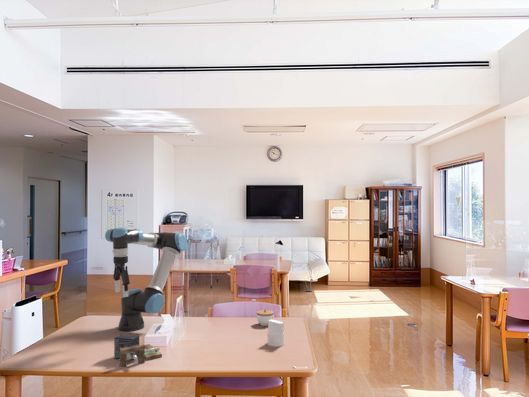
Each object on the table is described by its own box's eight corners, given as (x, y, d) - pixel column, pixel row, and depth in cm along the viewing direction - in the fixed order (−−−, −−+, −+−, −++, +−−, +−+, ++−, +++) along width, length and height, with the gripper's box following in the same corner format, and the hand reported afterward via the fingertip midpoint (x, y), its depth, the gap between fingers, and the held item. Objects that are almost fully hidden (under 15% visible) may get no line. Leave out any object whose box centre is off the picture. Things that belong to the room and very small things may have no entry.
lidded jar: (273, 327, 258) (273, 311, 258) (256, 326, 258) (256, 311, 258) (273, 322, 269) (273, 307, 269) (256, 322, 269) (256, 307, 269)
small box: (140, 356, 208) (140, 335, 209) (133, 361, 202) (133, 339, 202) (121, 354, 211) (121, 333, 211) (113, 359, 205) (113, 337, 205)
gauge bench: (149, 346, 222) (149, 331, 222) (163, 358, 205) (163, 342, 205) (109, 354, 210) (109, 338, 210) (121, 367, 194) (121, 350, 194)
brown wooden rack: (158, 352, 210) (158, 340, 210) (166, 358, 201) (166, 346, 201) (119, 360, 199) (119, 347, 199) (126, 367, 190) (126, 354, 190)
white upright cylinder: (287, 343, 227) (287, 321, 227) (276, 347, 221) (276, 324, 221) (275, 339, 233) (275, 318, 234) (264, 343, 227) (264, 321, 227)
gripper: (106, 253, 238) (107, 291, 238) (121, 259, 218) (122, 300, 218) (120, 252, 242) (121, 289, 243) (135, 257, 222) (136, 297, 223)
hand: (121, 294), depth 231 cm, fingers open, 13 cm apart
